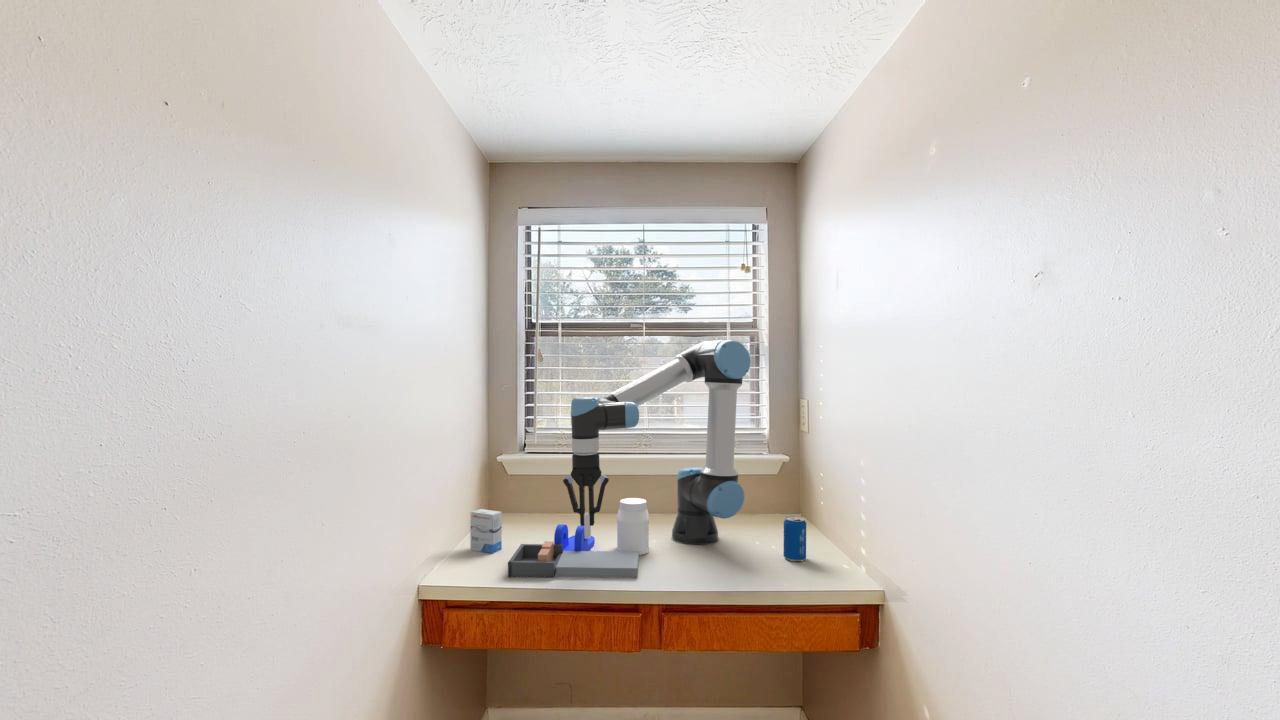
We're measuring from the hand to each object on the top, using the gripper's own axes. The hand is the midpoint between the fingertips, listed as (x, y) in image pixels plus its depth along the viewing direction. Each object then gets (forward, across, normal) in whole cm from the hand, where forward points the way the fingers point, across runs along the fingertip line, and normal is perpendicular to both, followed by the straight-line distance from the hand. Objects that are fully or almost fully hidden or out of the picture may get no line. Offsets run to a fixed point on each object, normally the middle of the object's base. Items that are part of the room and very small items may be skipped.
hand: (587, 537), depth 169 cm
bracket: (+10, +5, -18) cm, 21 cm away
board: (+9, -3, -1) cm, 10 cm away
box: (+9, +15, -1) cm, 17 cm away
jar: (+10, -12, -18) cm, 23 cm away
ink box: (+9, +33, -16) cm, 38 cm away
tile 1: (+6, +11, -4) cm, 13 cm away
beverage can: (+11, -60, -10) cm, 62 cm away
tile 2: (+6, +11, +3) cm, 12 cm away
